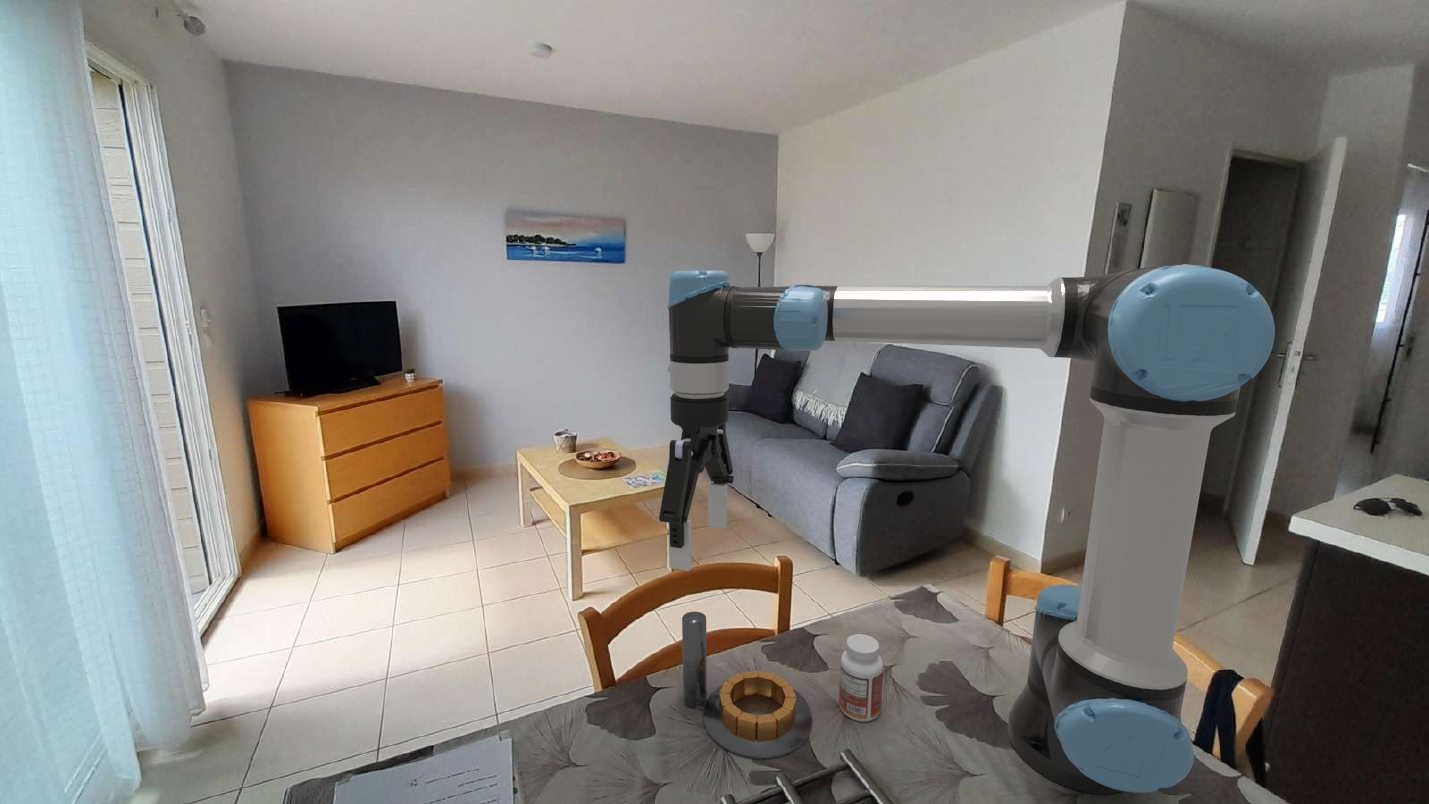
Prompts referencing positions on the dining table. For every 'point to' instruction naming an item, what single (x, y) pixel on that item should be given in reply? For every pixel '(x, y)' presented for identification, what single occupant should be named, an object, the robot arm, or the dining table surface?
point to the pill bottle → (861, 678)
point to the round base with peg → (743, 703)
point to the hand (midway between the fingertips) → (700, 546)
